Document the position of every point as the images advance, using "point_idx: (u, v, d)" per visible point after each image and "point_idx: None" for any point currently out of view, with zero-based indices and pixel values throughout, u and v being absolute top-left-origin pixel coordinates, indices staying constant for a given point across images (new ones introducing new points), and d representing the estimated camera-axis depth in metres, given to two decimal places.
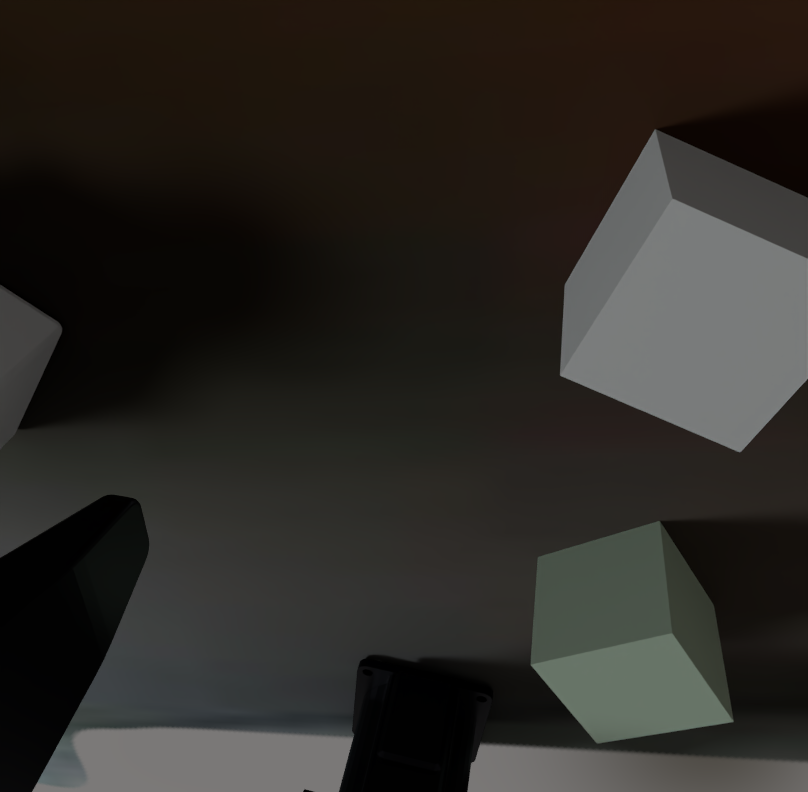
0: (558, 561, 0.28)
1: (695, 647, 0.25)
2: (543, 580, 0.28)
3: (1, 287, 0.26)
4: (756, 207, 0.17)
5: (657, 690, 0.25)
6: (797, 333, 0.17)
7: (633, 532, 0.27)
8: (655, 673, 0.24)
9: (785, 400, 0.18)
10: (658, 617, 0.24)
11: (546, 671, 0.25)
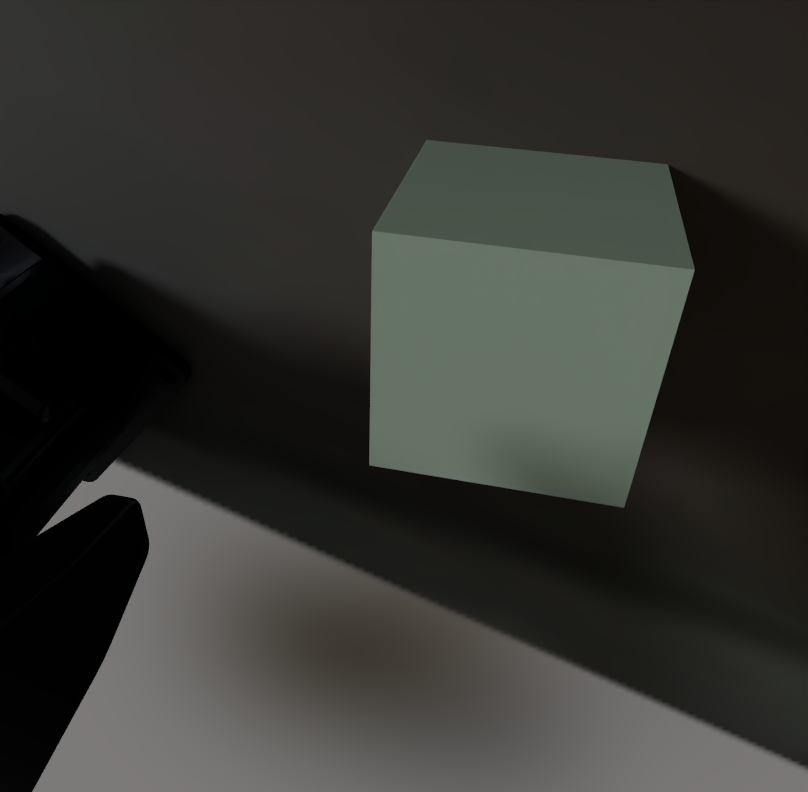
0: (464, 152, 0.15)
1: None
2: (430, 161, 0.15)
3: None
4: None
5: (558, 394, 0.13)
6: None
7: (617, 162, 0.15)
8: (586, 354, 0.12)
9: None
10: (664, 247, 0.12)
11: (391, 262, 0.12)
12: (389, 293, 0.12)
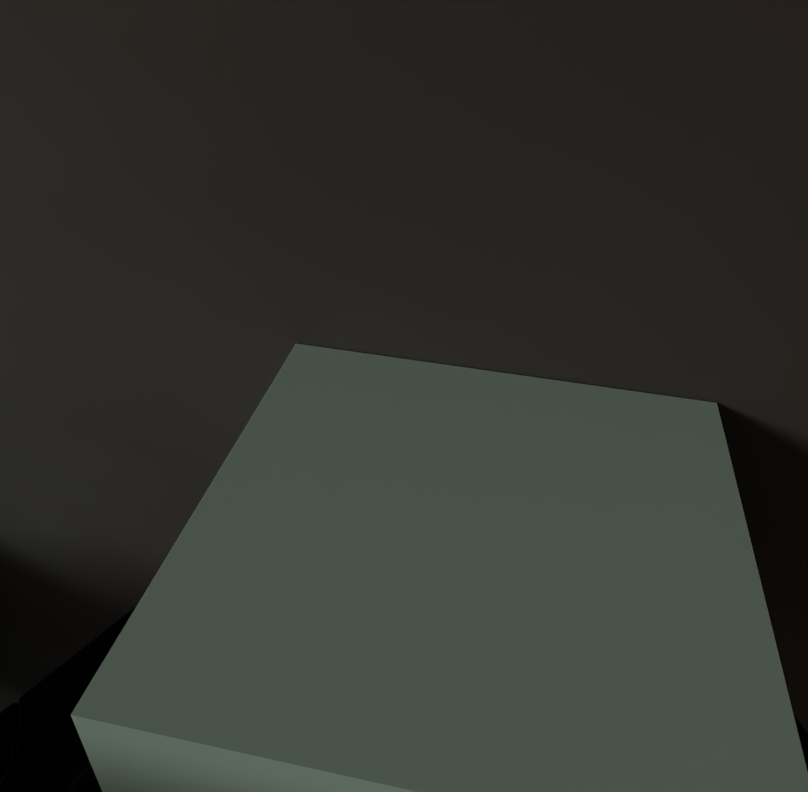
0: (354, 382, 0.08)
1: None
2: (284, 413, 0.08)
3: None
4: None
5: None
6: None
7: (626, 403, 0.08)
8: None
9: None
10: (747, 758, 0.05)
11: (129, 763, 0.05)
12: None
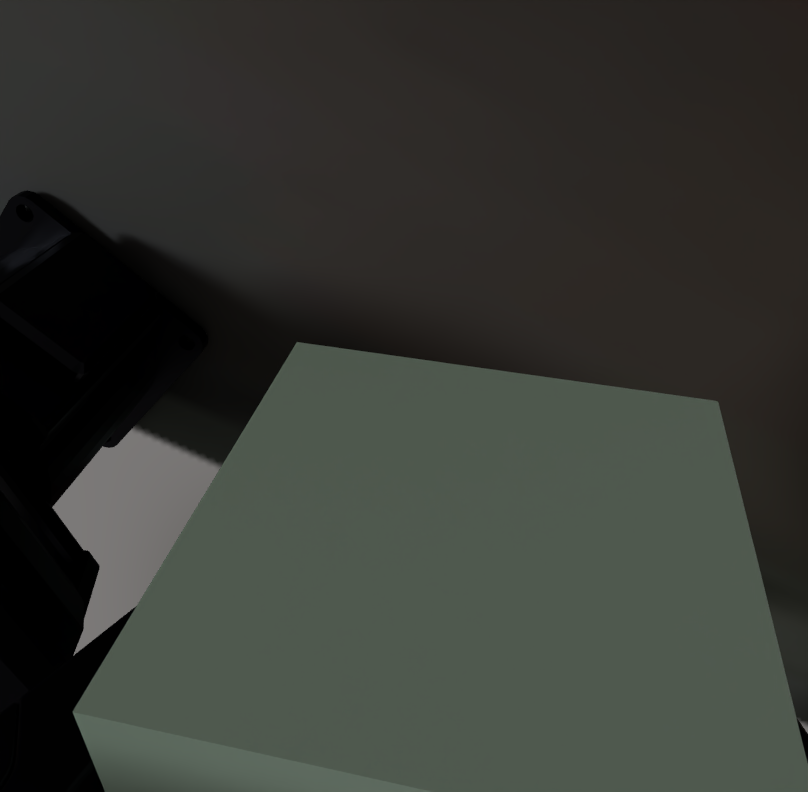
0: (356, 381, 0.08)
1: None
2: (285, 411, 0.08)
3: None
4: None
5: None
6: None
7: (628, 402, 0.08)
8: None
9: None
10: (749, 755, 0.05)
11: (130, 760, 0.05)
12: None
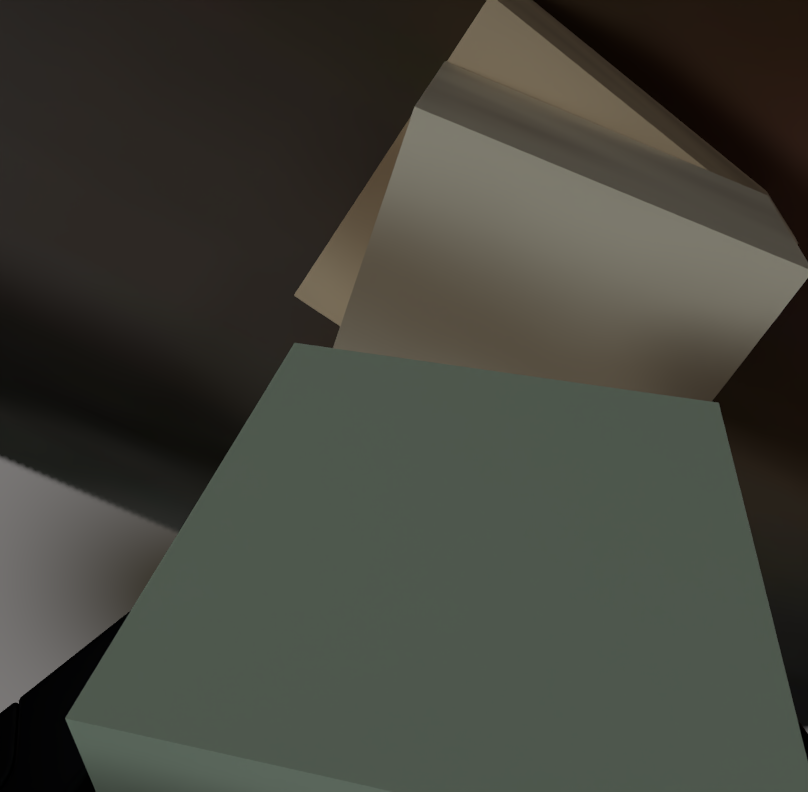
0: (353, 381, 0.08)
1: None
2: (282, 412, 0.08)
3: None
4: None
5: None
6: None
7: (628, 403, 0.08)
8: None
9: None
10: (750, 762, 0.05)
11: (124, 767, 0.05)
12: None
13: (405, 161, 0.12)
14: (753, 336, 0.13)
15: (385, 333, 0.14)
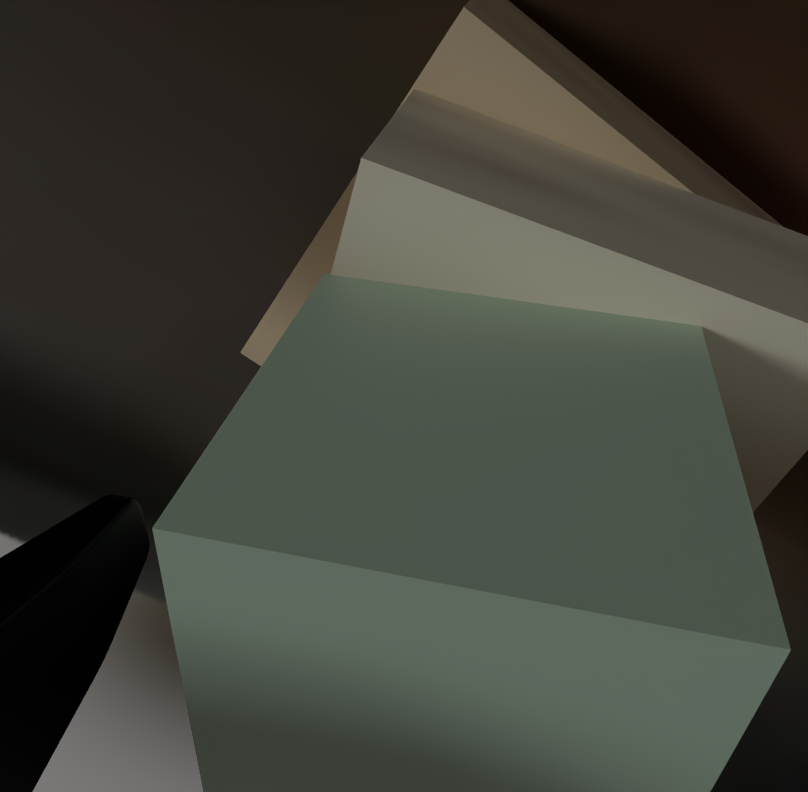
0: (377, 303, 0.09)
1: None
2: (316, 324, 0.09)
3: None
4: None
5: (518, 785, 0.07)
6: None
7: (620, 324, 0.09)
8: (569, 742, 0.07)
9: None
10: (721, 568, 0.06)
11: (197, 578, 0.06)
12: (201, 620, 0.07)
13: (355, 225, 0.10)
14: None
15: None
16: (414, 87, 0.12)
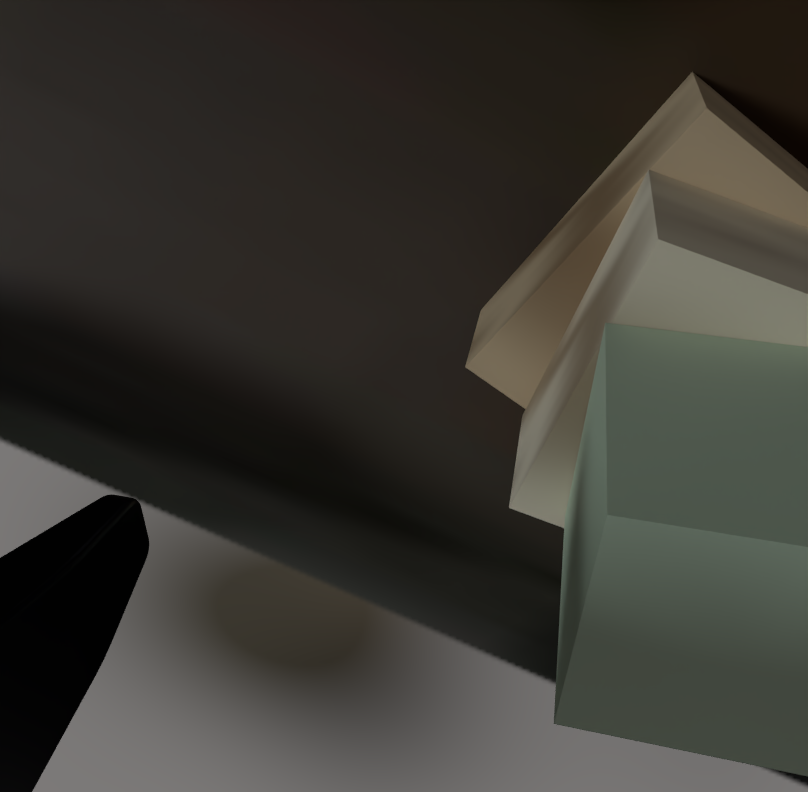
0: (658, 347, 0.13)
1: None
2: (624, 365, 0.12)
3: None
4: None
5: None
6: None
7: None
8: None
9: None
10: None
11: (626, 546, 0.10)
12: (616, 574, 0.10)
13: (641, 285, 0.13)
14: None
15: None
16: (655, 165, 0.15)
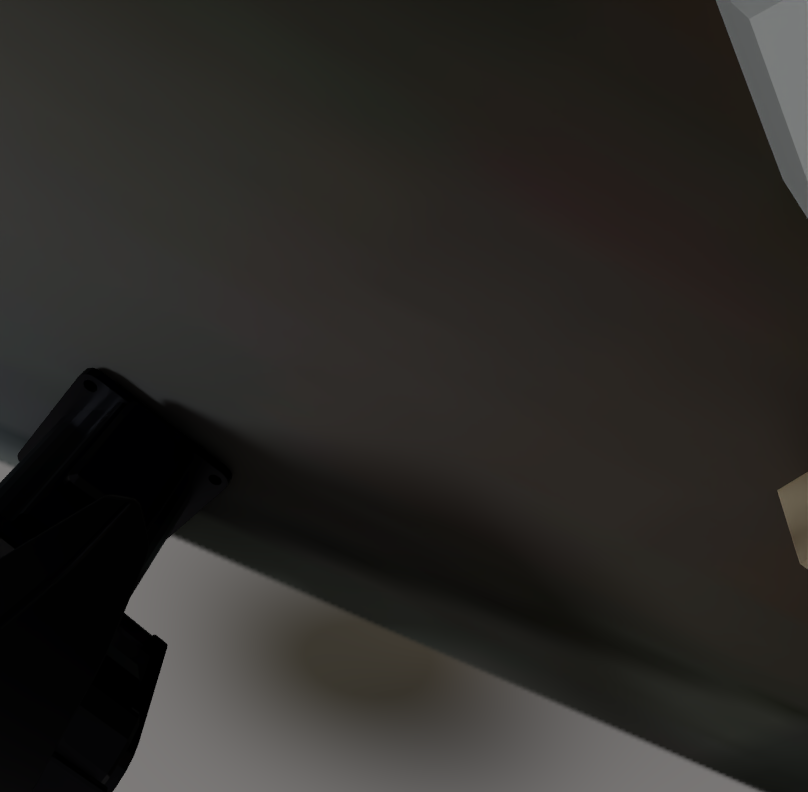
0: None
1: None
2: None
3: None
4: None
5: None
6: None
7: None
8: None
9: None
10: None
11: None
12: None
13: None
14: None
15: None
16: None
